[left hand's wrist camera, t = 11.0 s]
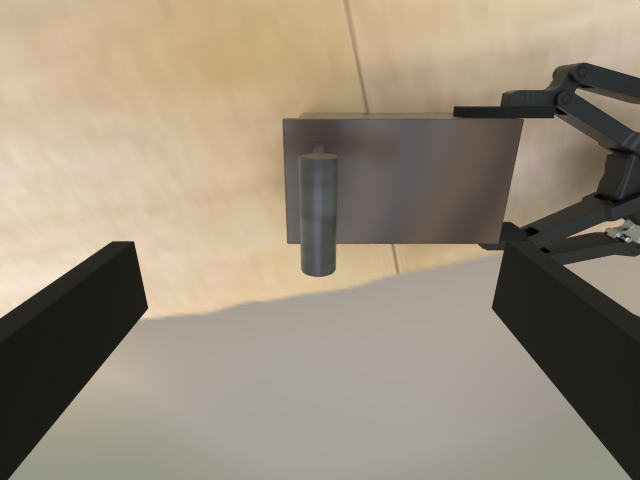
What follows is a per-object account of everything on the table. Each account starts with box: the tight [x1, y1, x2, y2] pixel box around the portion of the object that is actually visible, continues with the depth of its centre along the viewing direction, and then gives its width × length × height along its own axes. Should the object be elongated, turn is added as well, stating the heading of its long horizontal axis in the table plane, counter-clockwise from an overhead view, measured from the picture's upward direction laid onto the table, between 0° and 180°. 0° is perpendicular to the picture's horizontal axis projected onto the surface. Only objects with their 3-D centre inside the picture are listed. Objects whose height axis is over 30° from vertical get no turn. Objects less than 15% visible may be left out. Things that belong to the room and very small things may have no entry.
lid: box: [283, 118, 524, 277], centre depth 22 cm, size 16×9×9 cm, turn 90°
